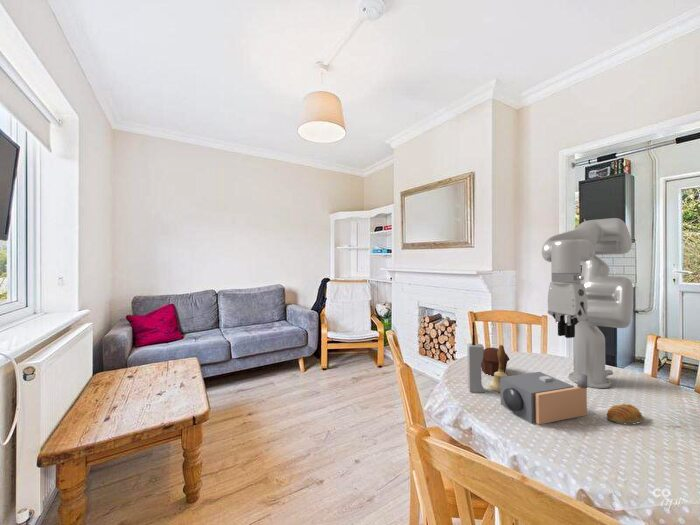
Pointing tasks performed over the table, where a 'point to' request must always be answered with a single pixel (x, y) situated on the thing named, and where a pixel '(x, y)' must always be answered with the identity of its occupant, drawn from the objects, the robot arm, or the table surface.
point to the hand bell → (499, 371)
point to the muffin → (492, 361)
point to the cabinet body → (527, 392)
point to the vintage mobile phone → (474, 365)
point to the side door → (562, 402)
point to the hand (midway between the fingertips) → (566, 336)
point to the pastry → (624, 414)
